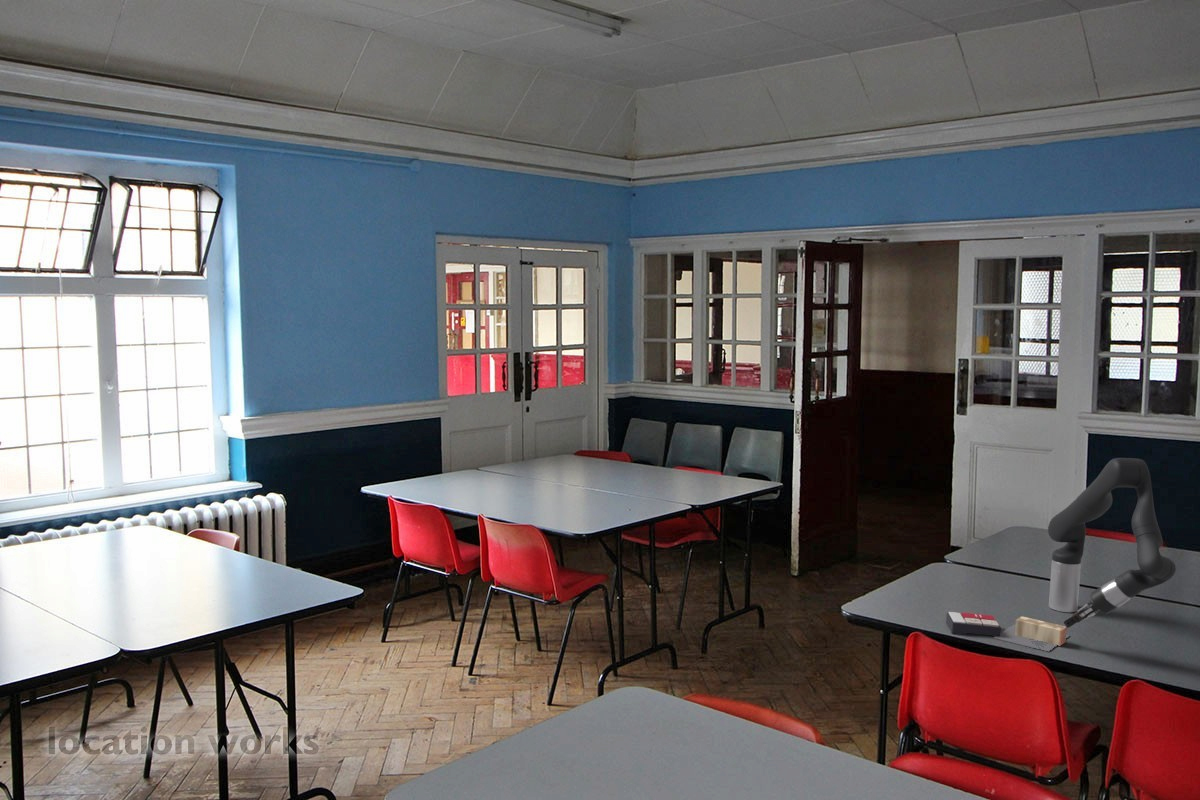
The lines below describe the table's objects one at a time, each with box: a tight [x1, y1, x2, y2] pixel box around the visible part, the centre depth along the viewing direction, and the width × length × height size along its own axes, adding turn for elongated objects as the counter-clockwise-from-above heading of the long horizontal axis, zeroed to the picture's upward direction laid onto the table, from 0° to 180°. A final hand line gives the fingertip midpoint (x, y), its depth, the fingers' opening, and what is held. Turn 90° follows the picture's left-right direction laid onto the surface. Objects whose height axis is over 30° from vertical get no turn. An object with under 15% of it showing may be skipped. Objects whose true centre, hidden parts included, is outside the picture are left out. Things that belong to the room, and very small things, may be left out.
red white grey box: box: [945, 611, 1002, 637], centre depth 320 cm, size 11×4×15 cm
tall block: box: [1015, 615, 1068, 647], centre depth 313 cm, size 5×5×14 cm
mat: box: [993, 622, 1071, 653], centre depth 315 cm, size 20×17×1 cm
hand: (1066, 624), depth 307 cm, fingers closed
